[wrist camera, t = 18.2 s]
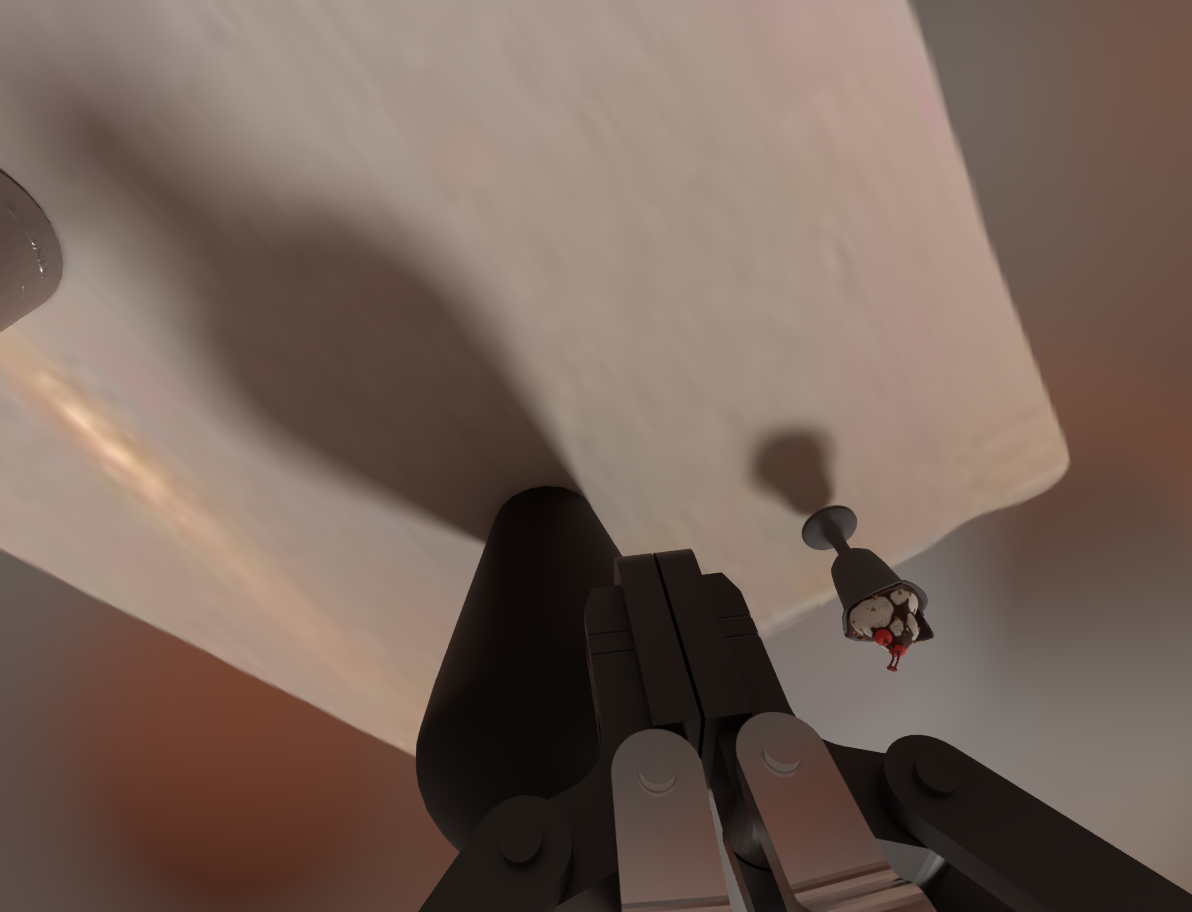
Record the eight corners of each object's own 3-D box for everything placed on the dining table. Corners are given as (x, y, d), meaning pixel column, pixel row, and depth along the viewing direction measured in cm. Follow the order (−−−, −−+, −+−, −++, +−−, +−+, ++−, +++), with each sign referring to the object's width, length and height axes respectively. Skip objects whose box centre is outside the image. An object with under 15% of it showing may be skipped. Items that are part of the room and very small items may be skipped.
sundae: (781, 524, 57) (860, 666, 45) (852, 486, 56) (953, 623, 43) (807, 566, 61) (887, 709, 48) (874, 532, 59) (974, 670, 47)
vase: (689, 503, 54) (909, 1057, 26) (564, 623, 61) (629, 1174, 32) (521, 400, 47) (569, 1025, 18) (397, 550, 53) (290, 1187, 25)
